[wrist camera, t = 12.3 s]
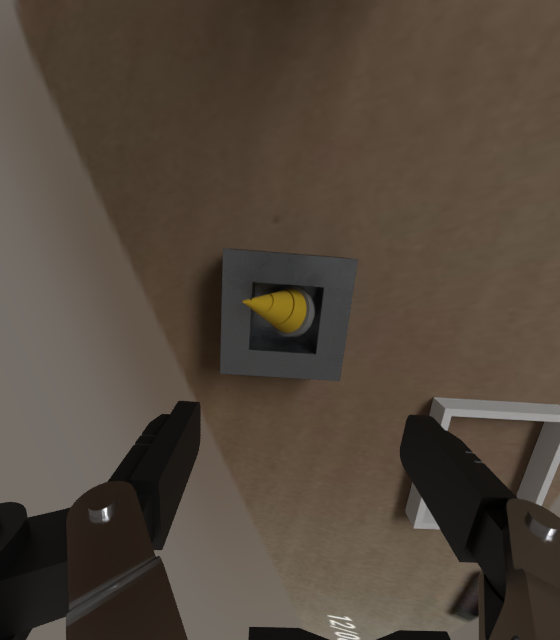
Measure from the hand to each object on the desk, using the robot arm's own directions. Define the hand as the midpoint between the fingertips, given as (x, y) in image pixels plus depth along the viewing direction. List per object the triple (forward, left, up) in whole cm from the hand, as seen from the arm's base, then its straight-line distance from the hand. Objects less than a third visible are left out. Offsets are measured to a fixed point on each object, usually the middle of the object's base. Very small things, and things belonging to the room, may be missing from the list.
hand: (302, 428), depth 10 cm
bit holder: (0, 0, -22) cm, 22 cm away
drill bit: (0, 0, -21) cm, 21 cm away
